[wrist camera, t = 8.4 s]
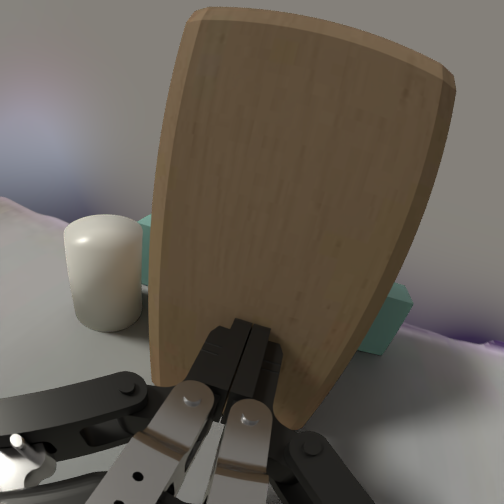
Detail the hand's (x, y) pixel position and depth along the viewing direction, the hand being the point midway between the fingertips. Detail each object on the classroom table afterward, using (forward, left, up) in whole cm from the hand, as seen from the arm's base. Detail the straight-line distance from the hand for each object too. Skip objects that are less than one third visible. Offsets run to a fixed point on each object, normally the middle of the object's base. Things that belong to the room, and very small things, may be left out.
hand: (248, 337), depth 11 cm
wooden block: (0, -5, -8) cm, 9 cm away
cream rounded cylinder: (+12, -6, -8) cm, 15 cm away
